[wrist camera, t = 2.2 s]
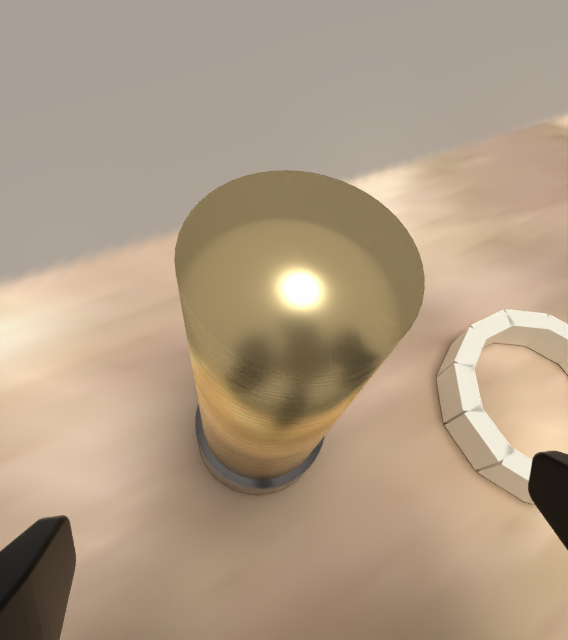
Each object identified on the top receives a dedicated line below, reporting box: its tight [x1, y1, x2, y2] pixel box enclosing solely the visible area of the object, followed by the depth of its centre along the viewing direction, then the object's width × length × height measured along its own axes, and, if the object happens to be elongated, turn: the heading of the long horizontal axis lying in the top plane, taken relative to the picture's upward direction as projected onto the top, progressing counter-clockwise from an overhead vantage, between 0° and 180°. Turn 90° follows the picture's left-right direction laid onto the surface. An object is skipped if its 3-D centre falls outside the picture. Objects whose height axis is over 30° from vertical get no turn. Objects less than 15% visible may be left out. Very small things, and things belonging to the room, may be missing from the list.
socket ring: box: [436, 309, 568, 504], centre depth 21 cm, size 10×10×2 cm
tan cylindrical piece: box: [175, 170, 424, 495], centre depth 14 cm, size 6×6×13 cm
